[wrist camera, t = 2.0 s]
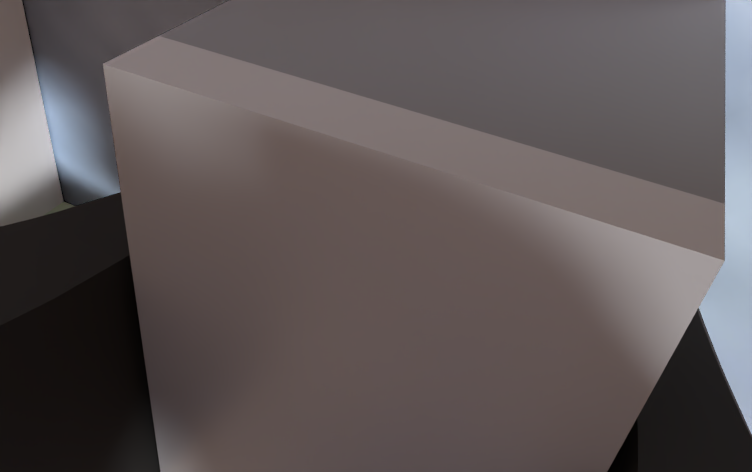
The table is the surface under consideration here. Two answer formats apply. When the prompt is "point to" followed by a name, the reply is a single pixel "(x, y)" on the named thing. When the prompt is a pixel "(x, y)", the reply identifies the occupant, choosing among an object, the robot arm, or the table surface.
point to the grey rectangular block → (418, 227)
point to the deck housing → (23, 127)
